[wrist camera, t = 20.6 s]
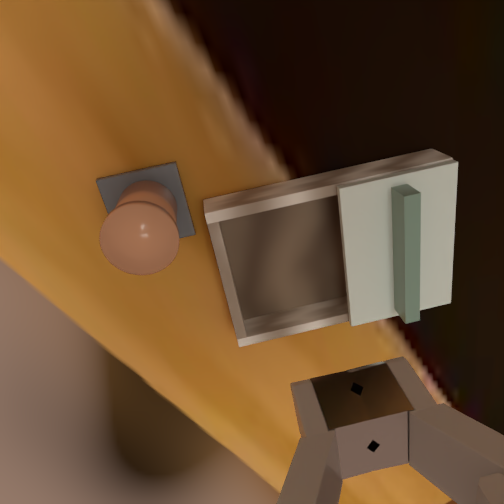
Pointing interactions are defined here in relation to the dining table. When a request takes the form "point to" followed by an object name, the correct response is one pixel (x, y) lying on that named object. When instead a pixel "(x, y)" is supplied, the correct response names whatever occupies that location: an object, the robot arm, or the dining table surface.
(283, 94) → the dining table surface
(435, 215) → the sliding lid panel
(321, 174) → the sliding lid box
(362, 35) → the dining table surface
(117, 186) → the slate tile
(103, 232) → the terracotta knob
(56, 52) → the dining table surface
